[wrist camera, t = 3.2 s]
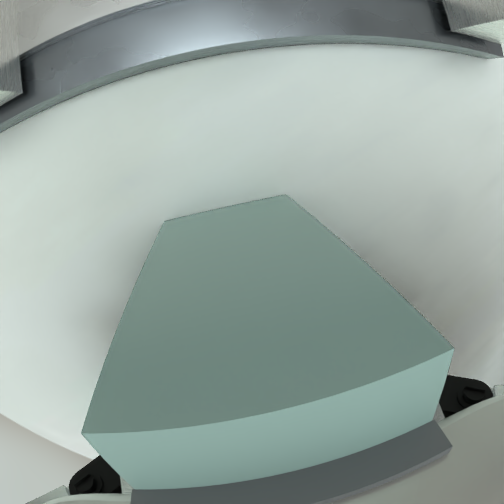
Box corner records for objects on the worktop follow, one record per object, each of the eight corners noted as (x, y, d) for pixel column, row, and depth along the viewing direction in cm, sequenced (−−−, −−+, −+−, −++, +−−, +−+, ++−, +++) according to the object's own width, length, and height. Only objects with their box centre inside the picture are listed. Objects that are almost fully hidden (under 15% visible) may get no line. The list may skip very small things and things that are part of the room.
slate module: (287, 194, 11) (485, 376, 2) (311, 374, 15) (381, 547, 6) (163, 221, 11) (67, 472, 2) (220, 395, 15) (242, 580, 6)
